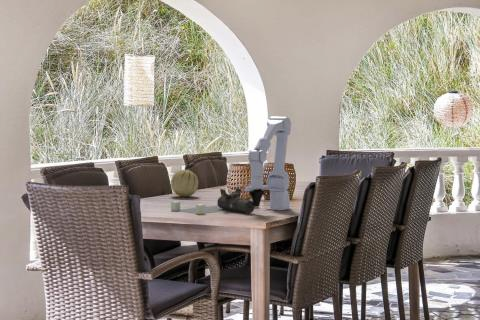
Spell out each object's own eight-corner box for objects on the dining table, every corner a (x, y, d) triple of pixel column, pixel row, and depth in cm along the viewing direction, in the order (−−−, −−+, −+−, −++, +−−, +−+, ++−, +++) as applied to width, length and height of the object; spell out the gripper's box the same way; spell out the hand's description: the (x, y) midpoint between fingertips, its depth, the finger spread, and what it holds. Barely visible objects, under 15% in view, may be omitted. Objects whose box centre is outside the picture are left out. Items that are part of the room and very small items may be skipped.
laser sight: (241, 214, 369) (241, 192, 368) (212, 209, 387) (212, 188, 386) (258, 213, 374) (258, 191, 374) (229, 207, 392) (229, 187, 392)
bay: (229, 204, 410) (229, 195, 410) (258, 207, 397) (258, 199, 397) (171, 210, 380) (171, 201, 380) (200, 214, 368) (200, 205, 367)
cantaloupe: (166, 197, 436) (167, 169, 435) (176, 194, 450) (177, 167, 449) (192, 198, 432) (193, 170, 431) (202, 196, 446) (202, 168, 445)
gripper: (260, 175, 379) (260, 204, 380) (239, 176, 368) (239, 206, 369) (272, 176, 374) (271, 205, 375) (251, 177, 364) (251, 208, 364)
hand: (256, 206), depth 372 cm, fingers closed
